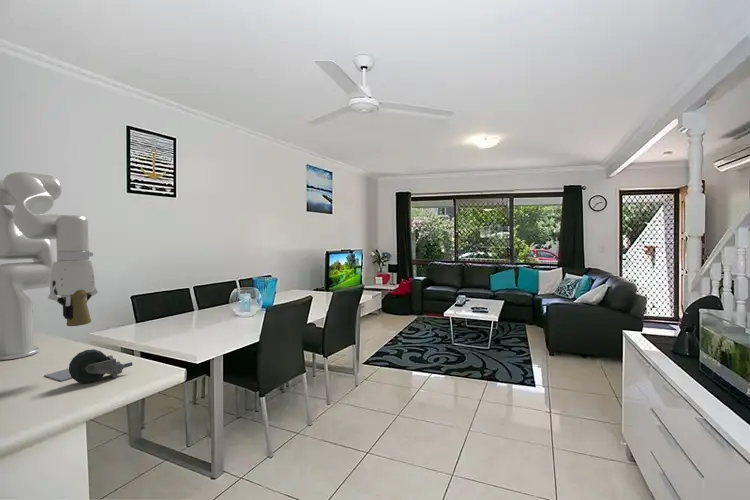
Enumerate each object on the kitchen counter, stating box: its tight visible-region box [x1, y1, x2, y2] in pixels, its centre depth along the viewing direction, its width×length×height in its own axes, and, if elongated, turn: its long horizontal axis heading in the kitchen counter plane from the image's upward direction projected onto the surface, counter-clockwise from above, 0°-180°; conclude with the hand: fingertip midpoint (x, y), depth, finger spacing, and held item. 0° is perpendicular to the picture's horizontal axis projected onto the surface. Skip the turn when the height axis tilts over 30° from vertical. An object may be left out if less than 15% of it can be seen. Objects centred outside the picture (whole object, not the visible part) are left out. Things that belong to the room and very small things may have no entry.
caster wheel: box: [68, 349, 133, 384], centre depth 113 cm, size 6×10×15 cm
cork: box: [66, 290, 92, 327], centre depth 117 cm, size 6×6×11 cm
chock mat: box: [43, 368, 73, 382], centre depth 118 cm, size 9×11×1 cm
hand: (74, 317), depth 117 cm, fingers closed on cork, 2 cm apart
